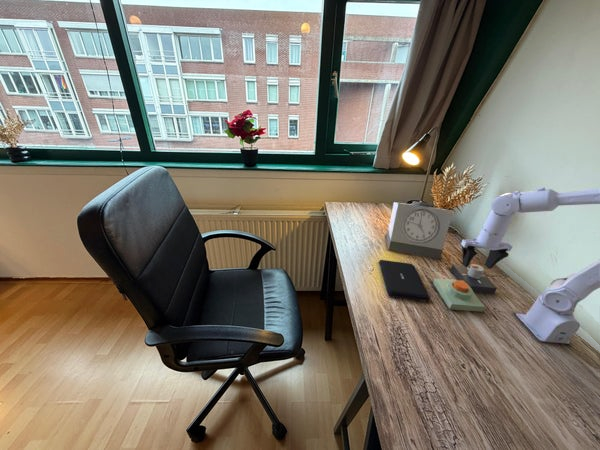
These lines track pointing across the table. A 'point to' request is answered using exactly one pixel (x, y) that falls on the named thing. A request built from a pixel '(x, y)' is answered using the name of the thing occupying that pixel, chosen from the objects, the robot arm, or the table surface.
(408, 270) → the laptop
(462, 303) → the green button box
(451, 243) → the table surface
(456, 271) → the dial panel
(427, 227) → the alarm clock
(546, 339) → the robot arm
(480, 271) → the temp dial
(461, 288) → the button
